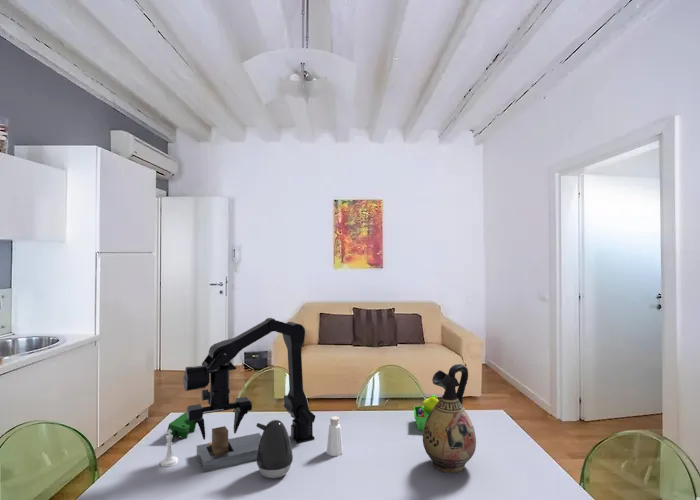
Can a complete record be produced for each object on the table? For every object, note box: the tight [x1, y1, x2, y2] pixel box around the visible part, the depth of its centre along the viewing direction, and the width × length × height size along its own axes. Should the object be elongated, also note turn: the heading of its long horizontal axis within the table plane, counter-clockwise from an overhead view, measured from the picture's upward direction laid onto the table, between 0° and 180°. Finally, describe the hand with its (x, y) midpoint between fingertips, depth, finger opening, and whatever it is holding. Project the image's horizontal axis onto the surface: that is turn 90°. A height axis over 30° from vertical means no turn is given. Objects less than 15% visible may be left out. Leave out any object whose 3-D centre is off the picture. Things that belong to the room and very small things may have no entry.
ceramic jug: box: [422, 363, 477, 474], centre depth 125 cm, size 17×15×30 cm
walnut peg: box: [211, 425, 229, 456], centre depth 130 cm, size 4×4×9 cm
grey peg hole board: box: [196, 432, 262, 473], centre depth 131 cm, size 20×12×3 cm, turn 118°
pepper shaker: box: [326, 415, 344, 457], centre depth 134 cm, size 5×5×11 cm
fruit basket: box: [413, 394, 439, 431], centre depth 155 cm, size 11×9×11 cm
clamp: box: [165, 411, 197, 441], centre depth 148 cm, size 12×6×9 cm, turn 166°
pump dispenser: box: [256, 419, 294, 479], centre depth 121 cm, size 10×10×15 cm
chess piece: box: [160, 429, 179, 468], centre depth 127 cm, size 5×5×10 cm
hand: (219, 436), depth 130 cm, fingers open, 9 cm apart
